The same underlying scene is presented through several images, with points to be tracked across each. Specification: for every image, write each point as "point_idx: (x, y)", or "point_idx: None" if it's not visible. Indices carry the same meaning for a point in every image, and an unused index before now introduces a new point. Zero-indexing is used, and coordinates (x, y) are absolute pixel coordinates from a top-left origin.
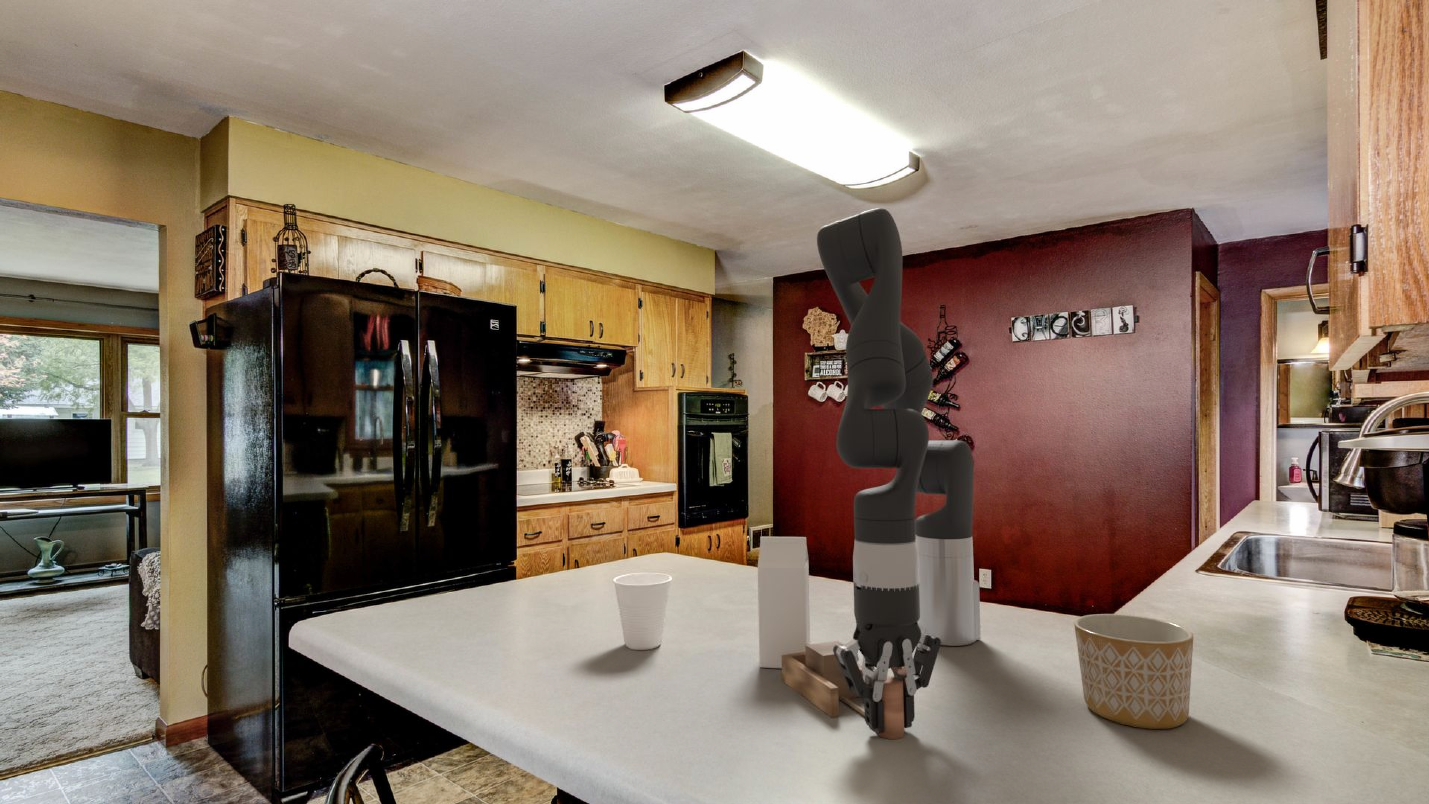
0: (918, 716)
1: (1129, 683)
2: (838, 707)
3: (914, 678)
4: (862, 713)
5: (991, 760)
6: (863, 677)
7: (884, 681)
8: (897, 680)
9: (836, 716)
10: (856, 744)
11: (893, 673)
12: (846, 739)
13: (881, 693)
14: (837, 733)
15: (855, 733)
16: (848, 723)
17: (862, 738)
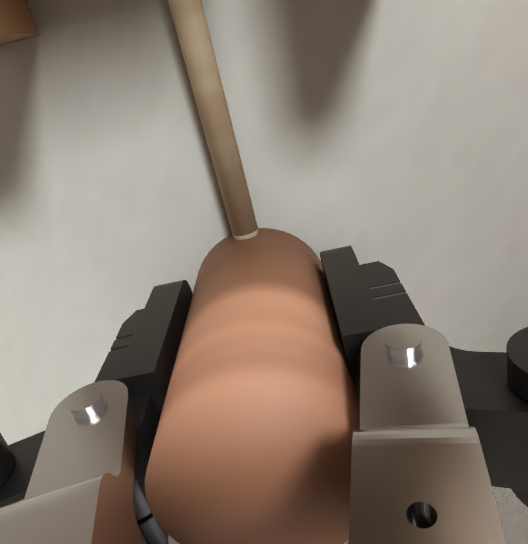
0: (505, 121)
1: None
2: (13, 31)
3: (504, 470)
4: (185, 58)
5: (511, 510)
6: (30, 496)
7: (219, 500)
8: (336, 495)
9: (22, 38)
10: (82, 357)
11: (361, 420)
12: (46, 312)
13: None
14: (10, 250)
15: (98, 263)
16: (83, 146)
17: (120, 313)
